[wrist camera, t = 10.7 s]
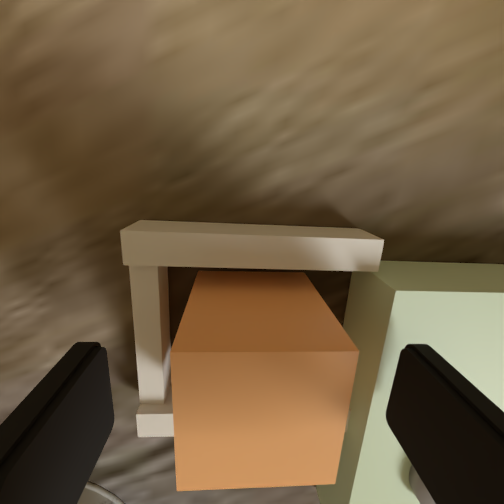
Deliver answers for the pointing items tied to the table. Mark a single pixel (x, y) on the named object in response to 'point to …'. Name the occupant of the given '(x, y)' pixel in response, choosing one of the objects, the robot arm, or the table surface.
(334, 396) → the matte orange cube
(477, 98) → the table surface
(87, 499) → the speckled stone cylinder
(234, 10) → the table surface
